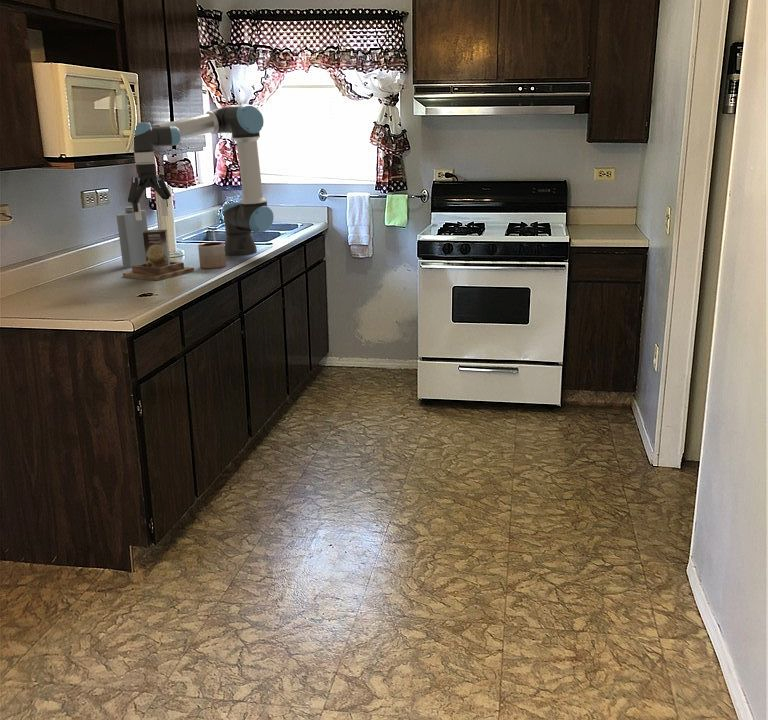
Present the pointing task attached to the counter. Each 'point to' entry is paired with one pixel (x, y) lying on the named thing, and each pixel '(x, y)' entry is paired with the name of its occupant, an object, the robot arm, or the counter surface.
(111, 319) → the counter surface
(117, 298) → the counter surface
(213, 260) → the planter
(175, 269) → the holder
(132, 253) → the flask
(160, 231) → the coffee box
